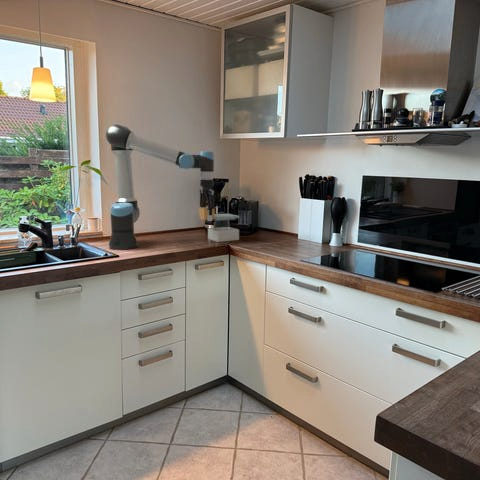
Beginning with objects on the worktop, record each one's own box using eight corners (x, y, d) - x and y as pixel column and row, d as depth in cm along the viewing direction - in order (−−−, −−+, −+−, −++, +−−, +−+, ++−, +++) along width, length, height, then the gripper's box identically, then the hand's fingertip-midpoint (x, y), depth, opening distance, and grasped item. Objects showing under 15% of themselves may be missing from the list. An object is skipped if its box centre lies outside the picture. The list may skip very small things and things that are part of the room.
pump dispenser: (210, 236, 275) (209, 211, 272) (222, 234, 282) (222, 210, 279) (220, 238, 267) (220, 213, 265) (233, 236, 274) (233, 212, 272)
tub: (218, 243, 248) (218, 231, 247) (208, 240, 258) (207, 228, 257) (238, 241, 256) (239, 229, 254) (228, 238, 266) (228, 227, 264)
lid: (207, 221, 242) (207, 209, 241) (196, 219, 253) (196, 207, 252) (239, 219, 253) (239, 207, 252) (228, 217, 264) (228, 205, 263)
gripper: (221, 179, 239) (221, 221, 243) (205, 178, 255) (205, 218, 259) (209, 179, 235) (209, 222, 239) (193, 178, 251) (193, 218, 255)
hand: (207, 220), depth 249 cm, fingers closed on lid, 6 cm apart
